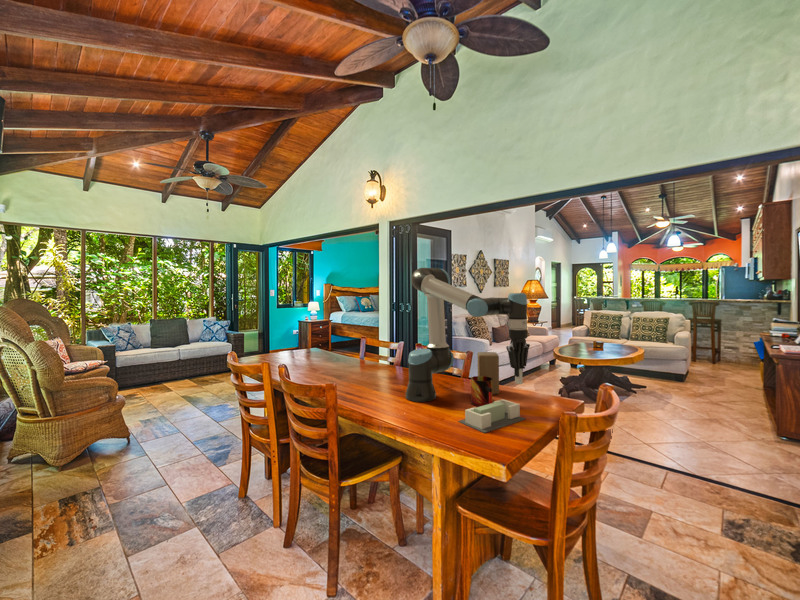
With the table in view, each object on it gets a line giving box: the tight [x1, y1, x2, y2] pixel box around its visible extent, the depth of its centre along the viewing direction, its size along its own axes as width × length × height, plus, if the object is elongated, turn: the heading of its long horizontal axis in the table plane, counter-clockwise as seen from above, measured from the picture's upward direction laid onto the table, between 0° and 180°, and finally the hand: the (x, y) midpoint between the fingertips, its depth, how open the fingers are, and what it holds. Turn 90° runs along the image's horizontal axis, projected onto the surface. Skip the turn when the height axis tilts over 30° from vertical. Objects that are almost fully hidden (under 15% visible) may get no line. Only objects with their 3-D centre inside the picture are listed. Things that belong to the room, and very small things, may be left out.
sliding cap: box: [493, 398, 521, 419], centre depth 150 cm, size 9×6×5 cm
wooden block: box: [477, 351, 500, 395], centre depth 185 cm, size 10×10×20 cm
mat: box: [457, 413, 526, 434], centre depth 145 cm, size 14×24×1 cm, turn 124°
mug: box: [470, 375, 493, 408], centre depth 164 cm, size 10×14×12 cm
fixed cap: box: [464, 406, 491, 429], centre depth 140 cm, size 9×5×5 cm, turn 34°
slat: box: [473, 402, 505, 422], centre depth 144 cm, size 4×14×6 cm, turn 124°
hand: (518, 383), depth 153 cm, fingers closed
